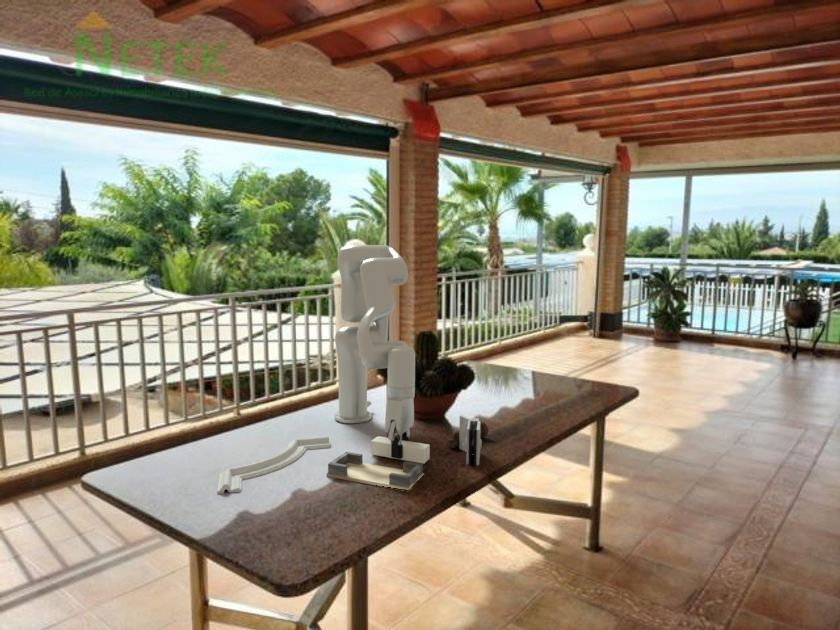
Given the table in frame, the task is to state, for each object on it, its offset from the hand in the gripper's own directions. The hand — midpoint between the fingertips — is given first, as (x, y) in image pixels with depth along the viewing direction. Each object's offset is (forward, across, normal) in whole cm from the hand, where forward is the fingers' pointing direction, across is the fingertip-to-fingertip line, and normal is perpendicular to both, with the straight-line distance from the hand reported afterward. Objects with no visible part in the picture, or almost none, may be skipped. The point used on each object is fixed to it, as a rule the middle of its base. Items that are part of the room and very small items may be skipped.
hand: (400, 454), depth 166 cm
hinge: (+1, -9, +17) cm, 19 cm away
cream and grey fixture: (+1, +14, -1) cm, 14 cm away
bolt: (+2, -19, +13) cm, 23 cm away
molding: (+2, +18, -28) cm, 33 cm away
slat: (+1, 0, 0) cm, 1 cm away
